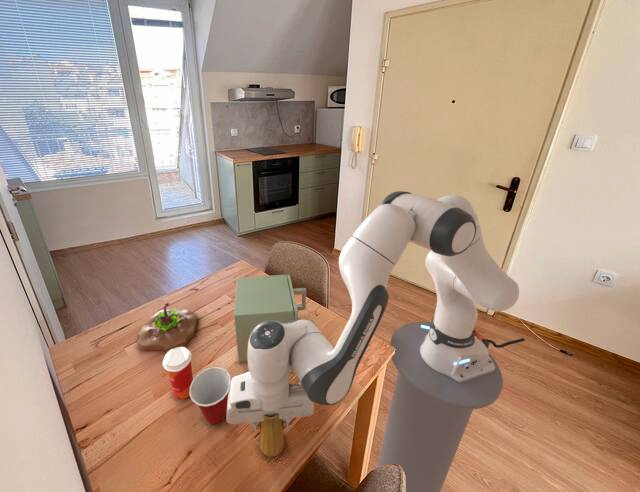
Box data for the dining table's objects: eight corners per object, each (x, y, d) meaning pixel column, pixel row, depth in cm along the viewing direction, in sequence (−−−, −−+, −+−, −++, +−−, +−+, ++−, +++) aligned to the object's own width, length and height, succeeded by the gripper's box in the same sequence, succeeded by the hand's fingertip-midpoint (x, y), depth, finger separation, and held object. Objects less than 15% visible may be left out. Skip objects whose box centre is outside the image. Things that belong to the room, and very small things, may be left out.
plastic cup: (192, 404, 83) (185, 374, 78) (229, 389, 87) (225, 360, 82) (198, 442, 74) (192, 411, 69) (239, 424, 78) (236, 394, 73)
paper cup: (170, 382, 89) (162, 349, 84) (196, 375, 91) (190, 342, 86) (169, 406, 82) (161, 371, 77) (197, 398, 84) (191, 364, 79)
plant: (204, 314, 117) (201, 291, 112) (185, 354, 99) (180, 328, 94) (157, 310, 119) (151, 288, 114) (129, 349, 101) (122, 324, 96)
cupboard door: (304, 314, 116) (305, 273, 108) (314, 355, 98) (316, 309, 90) (287, 315, 115) (287, 274, 107) (294, 356, 97) (294, 311, 89)
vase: (262, 460, 70) (260, 423, 64) (257, 434, 76) (255, 397, 70) (287, 452, 72) (286, 415, 66) (280, 427, 77) (279, 391, 71)
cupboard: (286, 316, 115) (286, 274, 107) (293, 357, 97) (293, 311, 89) (240, 319, 113) (236, 277, 105) (238, 362, 96) (234, 315, 88)
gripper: (312, 370, 69) (311, 408, 74) (224, 378, 67) (229, 416, 73) (318, 395, 63) (316, 434, 69) (222, 405, 61) (228, 444, 67)
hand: (271, 425), depth 71 cm, fingers closed on vase, 5 cm apart
